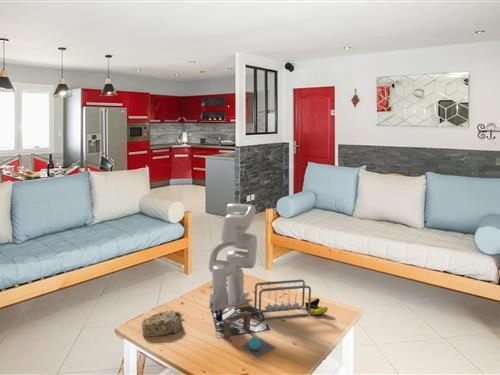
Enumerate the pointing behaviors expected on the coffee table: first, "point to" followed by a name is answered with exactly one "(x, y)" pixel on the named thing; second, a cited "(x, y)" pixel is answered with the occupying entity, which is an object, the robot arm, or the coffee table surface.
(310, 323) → the coffee table surface
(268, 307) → the newton's cradle
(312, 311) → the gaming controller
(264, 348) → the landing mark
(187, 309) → the coffee table surface
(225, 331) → the bridge
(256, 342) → the ball
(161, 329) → the rock
